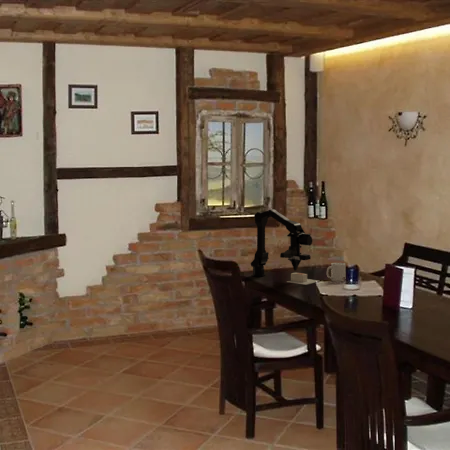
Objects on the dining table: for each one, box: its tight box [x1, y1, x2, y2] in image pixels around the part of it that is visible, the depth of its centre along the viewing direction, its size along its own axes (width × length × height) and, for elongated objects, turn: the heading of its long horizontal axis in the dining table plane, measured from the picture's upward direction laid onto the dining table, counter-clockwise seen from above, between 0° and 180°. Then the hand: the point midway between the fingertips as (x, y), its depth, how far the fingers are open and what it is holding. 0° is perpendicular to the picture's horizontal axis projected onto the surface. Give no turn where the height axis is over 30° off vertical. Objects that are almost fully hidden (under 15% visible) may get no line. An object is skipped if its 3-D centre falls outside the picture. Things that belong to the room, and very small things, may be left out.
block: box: [290, 272, 308, 282], centre depth 418 cm, size 4×4×9 cm
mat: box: [286, 278, 319, 286], centre depth 416 cm, size 14×14×1 cm
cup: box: [326, 262, 346, 283], centre depth 417 cm, size 8×12×10 cm
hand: (295, 270), depth 420 cm, fingers closed
